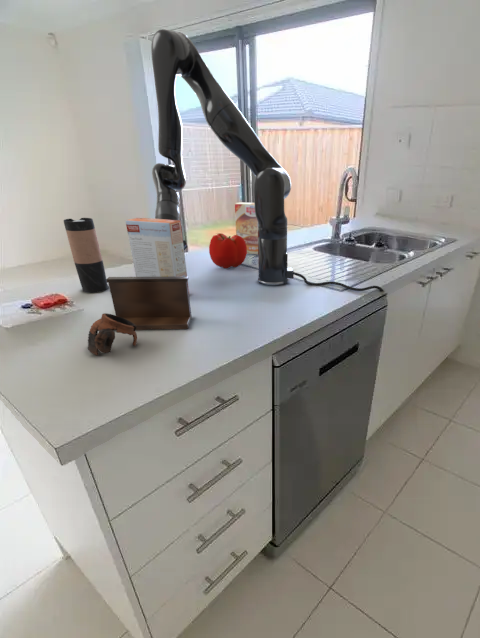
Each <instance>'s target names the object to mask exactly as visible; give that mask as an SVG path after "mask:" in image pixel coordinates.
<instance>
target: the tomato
mask: <svg viewBox="0 0 480 638" xmlns="http://www.w3.org/2000/svg"><path fill="white" fill-rule="evenodd" d="M208 253H209V257H210V260H211V261H212V263H213V264H214V265H216V266H217V267H219V268H223V269H227V270H228V269H230V268H237V267H239V266H241V265H243V263H244V262H245V260H246V259H247V255H248V254H247V246H246V243H245V241H244V239H243V238H242V237H241V236H237V235H236V234H234V235H232V236H231V235H229V236H227V235H226V234H225V233H222V232H221V233H218V232H217V233H215V234H214V235H213V236H212V237H211V239H210V241H209V246H208Z"/></svg>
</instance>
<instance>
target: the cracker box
mask: <svg viewBox="0 0 480 638" xmlns="http://www.w3.org/2000/svg"><path fill="white" fill-rule="evenodd" d="M125 226H126V232H127V236H128V242H129V247H130V252H131V257H132V264H133V269H134V274H135V277H164V276H188V271H187V264H186V263H187V262H186V255H185V250H184V245H183V240H184V239H183V231H182V221H181V219H180V220H165V219H155V218H150V217H134V218H129V219H126V220H125ZM187 282H188V283H189V280H188V281H187ZM188 291H189V292H190V288H189V286H188Z"/></svg>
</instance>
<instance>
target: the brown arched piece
mask: <svg viewBox="0 0 480 638" xmlns="http://www.w3.org/2000/svg"><path fill="white" fill-rule="evenodd" d="M136 328H137V326H136V325H135V324H134V323H132V322H130V321H128V320H126V319H124V318H122V317H119V316H116V314H113V313H112V314H111V313H102V314H101V318H99V319H97V320H95V321H94V322H93V323H92V325H91V326H90V328H89V331H88V334H87V335H88V337H87V338H88V339H87V350H88V351H89V353H91V354H92V355H95V356H99V352H101V353H102V354H108V353H111V352H112V347H113V344H114V341H115V339H116V333H119V334H122V335H129V336H132V339H133V341H132V345H133V346H134V347H135V346H137V344H138V343H137V342H138V334H137V332H136V331H137V330H136Z"/></svg>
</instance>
